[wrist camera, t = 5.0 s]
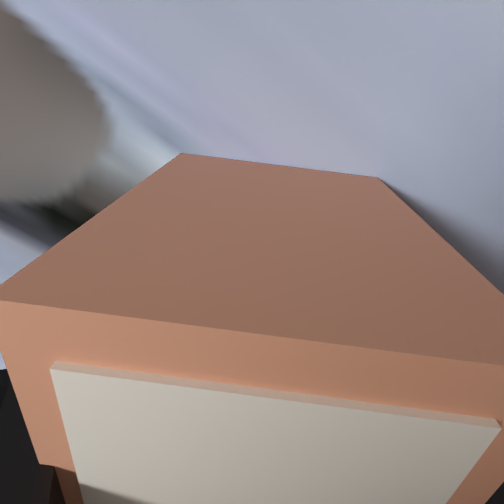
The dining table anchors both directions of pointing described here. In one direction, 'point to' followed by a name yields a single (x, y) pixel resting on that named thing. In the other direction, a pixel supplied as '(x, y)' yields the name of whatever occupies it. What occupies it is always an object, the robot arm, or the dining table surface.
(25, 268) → the tan box
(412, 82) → the dining table surface
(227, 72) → the dining table surface
